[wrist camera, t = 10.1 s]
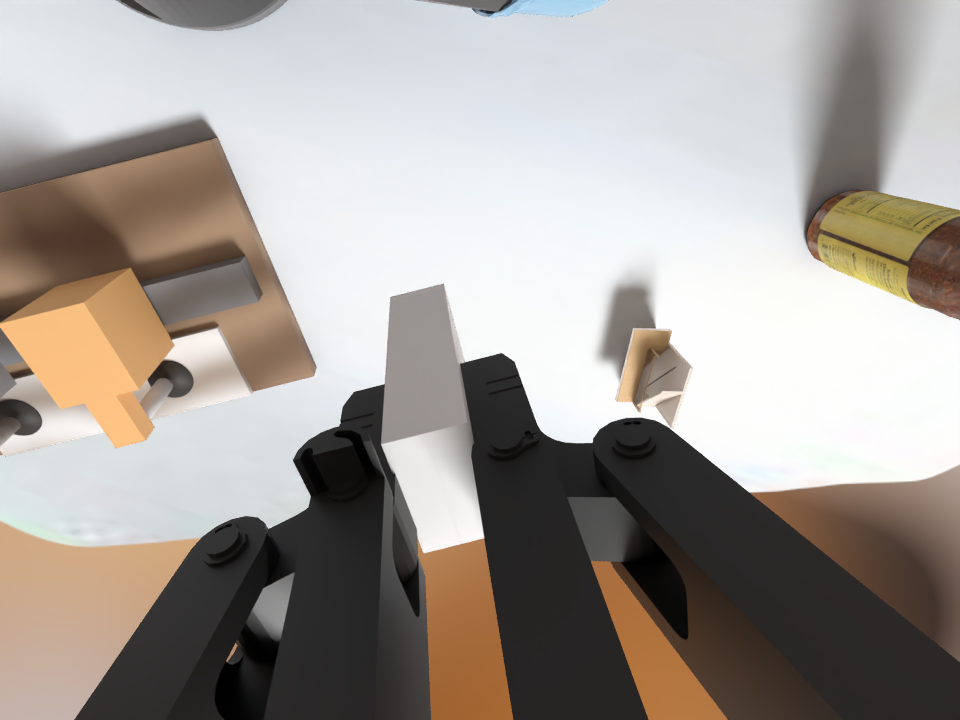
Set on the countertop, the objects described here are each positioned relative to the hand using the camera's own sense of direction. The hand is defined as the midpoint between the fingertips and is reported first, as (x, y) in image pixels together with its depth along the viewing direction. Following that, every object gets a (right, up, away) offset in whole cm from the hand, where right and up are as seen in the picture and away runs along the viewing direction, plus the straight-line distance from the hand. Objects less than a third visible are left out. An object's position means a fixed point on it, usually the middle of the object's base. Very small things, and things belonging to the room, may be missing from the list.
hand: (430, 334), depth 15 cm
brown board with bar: (-27, +3, +25) cm, 37 cm away
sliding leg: (-23, +1, +23) cm, 33 cm away
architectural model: (+15, 0, +33) cm, 37 cm away
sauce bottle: (+30, +10, +29) cm, 43 cm away
